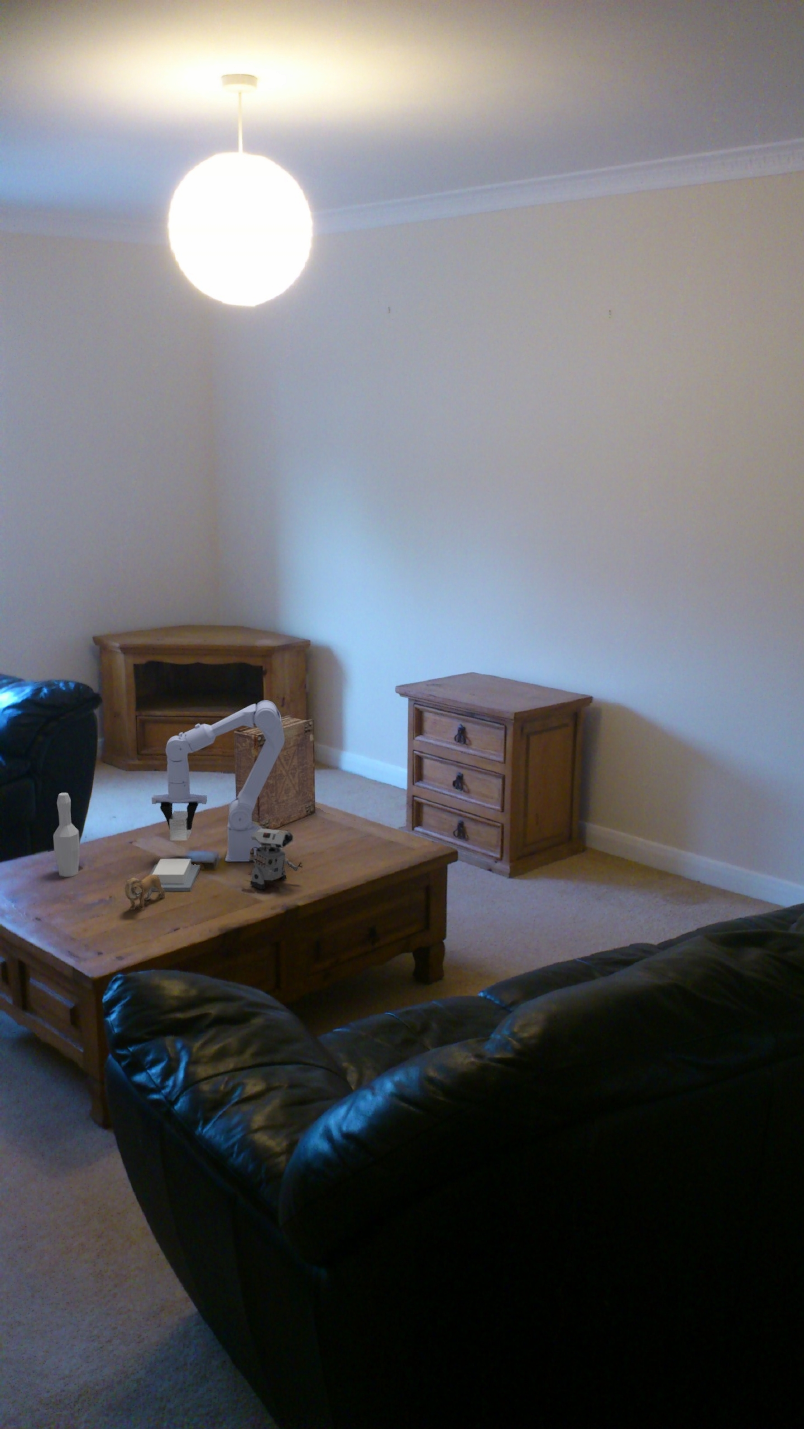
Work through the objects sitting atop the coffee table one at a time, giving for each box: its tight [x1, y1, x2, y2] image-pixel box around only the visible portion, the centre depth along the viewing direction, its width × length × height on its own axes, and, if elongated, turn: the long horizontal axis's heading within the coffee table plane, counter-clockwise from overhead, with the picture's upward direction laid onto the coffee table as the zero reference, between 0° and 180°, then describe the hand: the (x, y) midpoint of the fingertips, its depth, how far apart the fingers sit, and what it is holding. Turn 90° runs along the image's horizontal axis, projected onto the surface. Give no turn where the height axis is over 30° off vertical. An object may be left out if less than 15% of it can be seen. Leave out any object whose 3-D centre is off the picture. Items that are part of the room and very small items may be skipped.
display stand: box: [149, 858, 201, 892], centre depth 285 cm, size 12×16×4 cm
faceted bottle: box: [52, 792, 81, 878], centre depth 287 cm, size 6×6×22 cm
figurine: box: [248, 828, 303, 890], centre depth 281 cm, size 9×12×15 cm
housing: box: [169, 810, 193, 841], centre depth 297 cm, size 4×7×6 cm, turn 1°
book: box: [233, 714, 316, 830], centre depth 327 cm, size 25×9×30 cm, turn 145°
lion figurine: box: [124, 874, 166, 911], centre depth 269 cm, size 15×5×9 cm, turn 164°
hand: (180, 828), depth 297 cm, fingers closed on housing, 4 cm apart
